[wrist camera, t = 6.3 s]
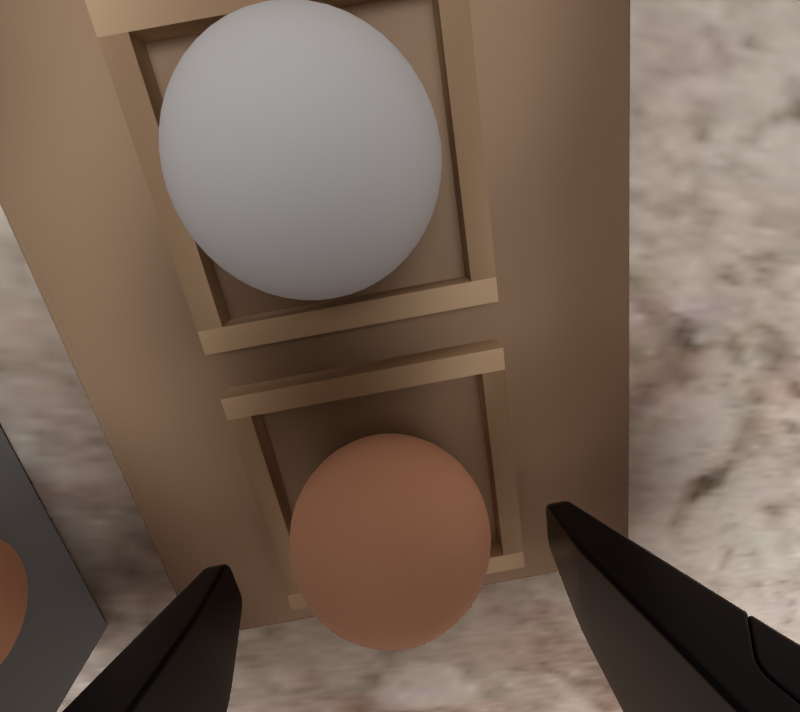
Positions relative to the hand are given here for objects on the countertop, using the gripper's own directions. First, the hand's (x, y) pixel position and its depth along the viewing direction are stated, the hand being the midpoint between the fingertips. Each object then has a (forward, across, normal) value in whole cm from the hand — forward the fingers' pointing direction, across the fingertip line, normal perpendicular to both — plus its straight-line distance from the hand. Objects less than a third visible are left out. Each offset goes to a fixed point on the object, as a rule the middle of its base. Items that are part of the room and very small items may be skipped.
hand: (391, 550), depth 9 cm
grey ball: (+2, 0, -7) cm, 7 cm away
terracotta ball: (+2, 0, 0) cm, 2 cm away
